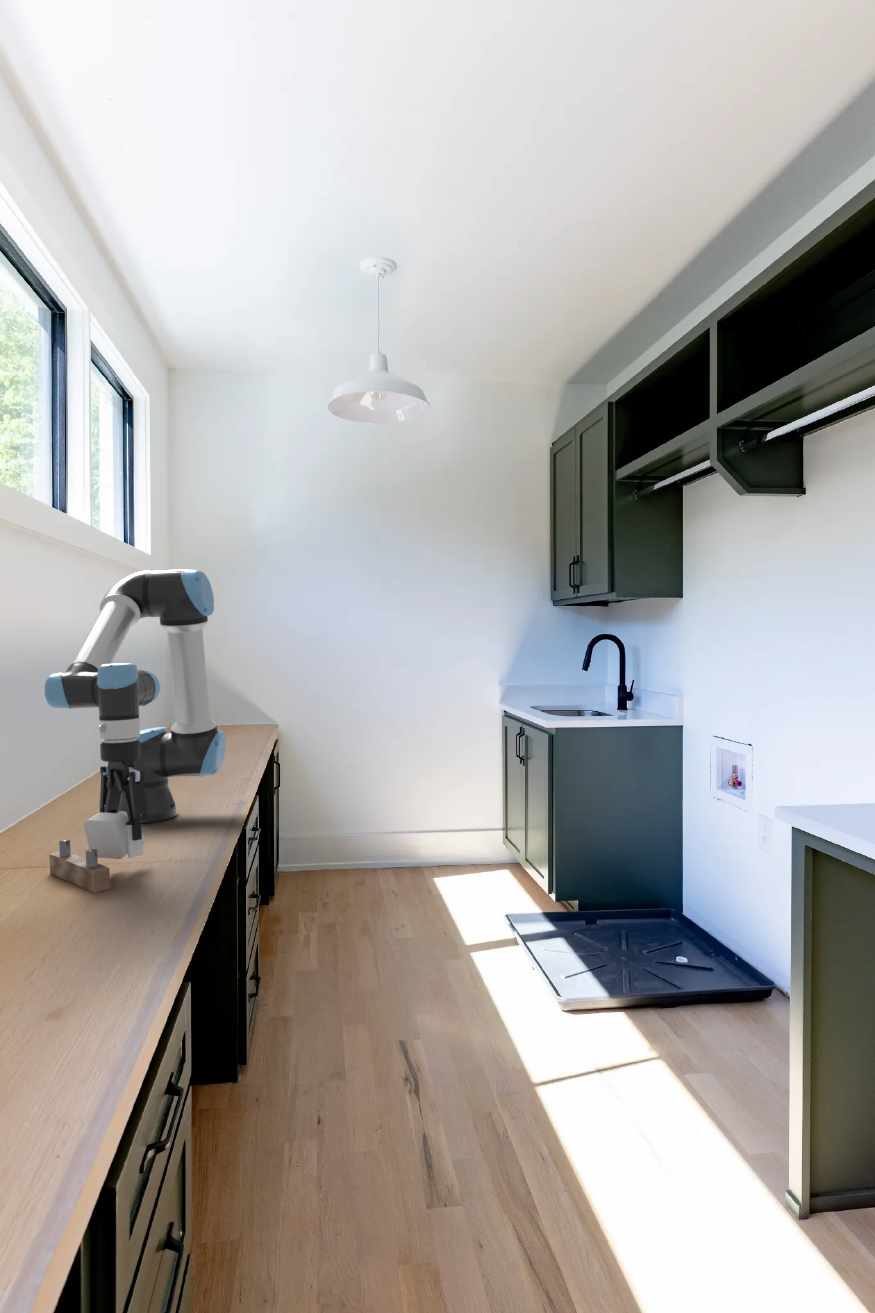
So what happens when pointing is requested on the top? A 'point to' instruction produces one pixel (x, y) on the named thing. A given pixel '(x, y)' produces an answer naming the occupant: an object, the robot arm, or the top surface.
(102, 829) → the white knobbed block
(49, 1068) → the top surface
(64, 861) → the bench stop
